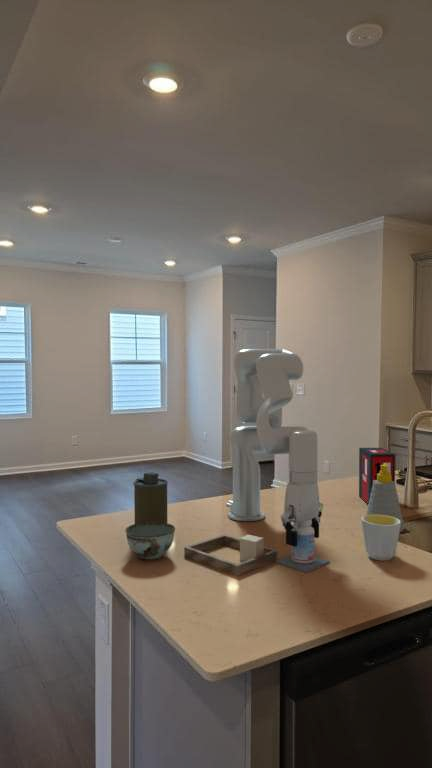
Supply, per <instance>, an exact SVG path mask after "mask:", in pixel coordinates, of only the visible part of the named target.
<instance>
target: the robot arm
mask: <svg viewBox="0 0 432 768" xmlns="http://www.w3.org/2000/svg"><path fill="white" fill-rule="evenodd" d="M233 368H234V372H235V376H236V381H237V388H236V405H235V406H236V407H235V408H236V409H235V412H236V414H235V415H236V419H237V420H238V421H239V422H240V423H241V424H242V423H243V424H256V425H242V426H237V427H235V428H233V429H232V430H231V432H230V435H229V443H230V449H231V457H232V458H231V459H232V500H229V501H228V502H227V503H226V505H225V506H226V508H229V509H230V511H229V512H228V513H227V514H228V518H229V519H231V520H234V521H236V522H237V521H238V522H256V521H261V520H263V519H264V518H265V516H266V515H265V514H266V513H265V512H263V511H262V510H261V465H260V463H259V462H258V460H257V459H256V458H255V457H254V454H268V455H286V454H287V455H288V482H287V484H286V488H285V493H284V508H283V509H284V510H283V513H282V514H281V515H280V519H281V520H280V521H281V522H282V526H283V527H284V528H283V529H284V530H285V544H286V545H287V546H290V547H291V546H294V547H296V546H297V531H295V530H296V528H297V526H298V523H301V522H304V521H307V520H310V519H312V525H311V527H313V529H314V535H315V536H314V538H315V539H319V538H320V524H321V517H322V514H323V508H324V504H323V502H322V503H321V502H320V492H319V484H318V435H317V432H315V431H314V430H310V429H308V428H306V427H304V426H282V422H283V407H285V406H287V405H288V404H290V402H291V401H292V400H293V397H294V393H293V390H292V386H291V383H290V381H298V380H300V379H302V376H303V374H304V364H303V361H302V359H301V357H300V356H299V355H298V354H297V353H294V352H292V351H289V350H286V349H279V348H247V349H246V348H245V349H244V348H243V349H240V350H239V351H237V352H236V354H235V355H234V359H233ZM294 518H296V519H294ZM292 523H293V524H292Z"/></svg>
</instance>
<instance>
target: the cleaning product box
mask: <svg viewBox="0 0 432 768" xmlns="http://www.w3.org/2000/svg"><path fill="white" fill-rule="evenodd" d="M358 451H359V452H358V457H359V458H358V460H359V461H358V480H359V481H358V498H359V497H360V498H361V499H362V500H363V501H364V502H365V503H366V504H365V503H364V502H363V501H362V500H361V499H360V498H359V499H360V500H361V501H362V502H363V503H364V504H365V505H367V506H368V504H369V499H370V494H371V490H372V487H373V482H374V481H375V480H377V474H378V473H379V471H381V466H380V465H383V464H384V463H386V465H388V472H389V474H391V481H393V482H394V483H395V482H396V454H395V453H393V452H391V451H389V450H388V449H385V448H384V447H359V450H358ZM395 484H396V483H395Z"/></svg>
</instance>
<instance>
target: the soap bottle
mask: <svg viewBox="0 0 432 768" xmlns="http://www.w3.org/2000/svg"><path fill="white" fill-rule="evenodd" d="M380 466H381V471H379V473H378V474H377V480H375V481H374V482H373V487H372V490H371V494H370V499H369V504H368V505H367V510H366V515H386V516H391V517H395V518H397V519H399V520H400V521H401V525H400V531H399V533H401V532H403V531H404V530H405V525H404V520H403V516H402V511H401V506H400V501H399V495H398V491H397V490H398V489H397V487H396V486H397V485H396V483H394V482H393V481H391V474H389V472H388V465H386V463H384V464H383V465H380Z"/></svg>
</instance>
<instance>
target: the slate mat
mask: <svg viewBox="0 0 432 768" xmlns="http://www.w3.org/2000/svg"><path fill="white" fill-rule="evenodd" d="M275 563H276V564H279V565H282V566H285V567H289V568H291V569H294V570H298V571H301V572H303V573H308V574H309V573H310V572H312V571H314V570H316V569H319V568H320V567H323V566H326V565H327V564H329V563H330V560H328V559H325V558H320V557H319V556H315V555H314V561H313V562H312V563H308V564H303V563H296V562H294V561H293V560H292V559H291V554H290V555H287V556H285V557H282V558H280V559H278V560H276V561H275Z"/></svg>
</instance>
